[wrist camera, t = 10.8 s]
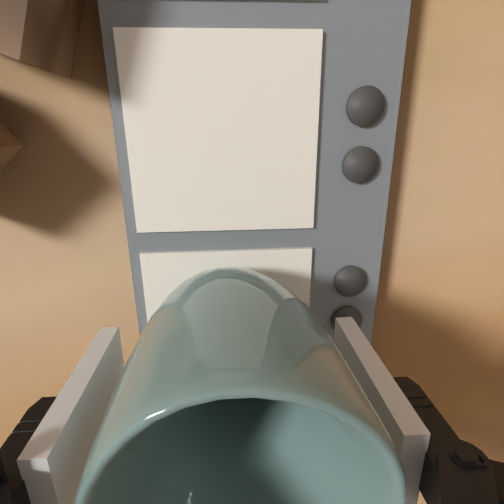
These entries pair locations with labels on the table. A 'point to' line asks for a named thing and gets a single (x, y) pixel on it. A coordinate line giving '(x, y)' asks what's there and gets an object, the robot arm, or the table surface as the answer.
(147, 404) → the cup
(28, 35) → the walnut block
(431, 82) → the table surface
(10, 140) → the walnut block
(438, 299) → the table surface
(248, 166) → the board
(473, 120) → the table surface
